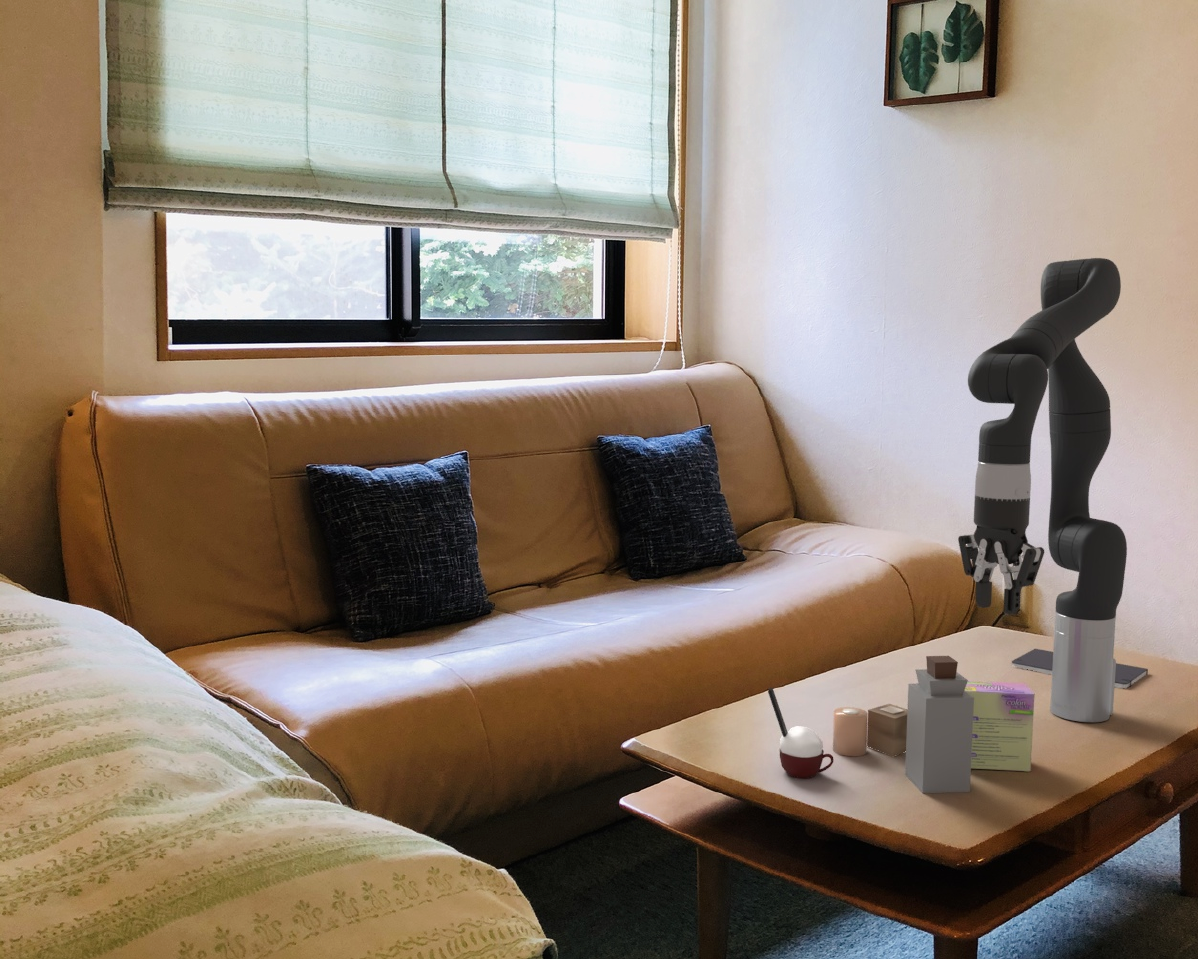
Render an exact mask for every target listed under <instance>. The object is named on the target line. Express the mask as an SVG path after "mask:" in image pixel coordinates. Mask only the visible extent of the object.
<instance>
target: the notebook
mask: <svg viewBox="0 0 1198 959" xmlns="http://www.w3.org/2000/svg"><path fill="white" fill-rule="evenodd" d="M1011 663H1012V667H1013V666H1015V667H1019V668H1018V669H1020V668H1023V669H1022V670H1025V669H1028V670H1027V671H1030V670H1033V671H1032V672H1035V671H1037V672H1036V673H1040V672H1042V673H1041V674H1045V675H1046V674H1047V675H1051V676H1052V667H1053V651H1050V650H1045V649H1039V648H1033V649H1031V650H1030V651H1028V652H1026V653H1024V654H1022V655H1021V656H1018V657H1017V658H1014V659H1013V660H1011ZM1015 667H1014V668H1015ZM1148 674H1149V669H1148V668H1144V667H1138V666H1135V665H1128V664H1122V663H1118V662H1116V670H1115V687H1114V688H1118V689H1123V688H1125V689H1128V688H1129V687H1132V685H1134V684H1135V683H1136V682H1137V681H1140V680H1141V679H1142V678H1143V677H1144V676H1146V675H1148ZM1134 682H1135V683H1134ZM1127 687H1128V688H1127Z"/></svg>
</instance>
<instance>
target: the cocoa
mask: <svg viewBox="0 0 1198 959" xmlns="http://www.w3.org/2000/svg"><path fill="white" fill-rule="evenodd" d="M767 690H768V691H767V693H768V697H769V699H770V702H771V706H772V707H773V710H774V711H773V712H774V713H775V717H776V720H777V723H778V726H779V728H780V731H781V734H782V735H781V737H780V739H779V759H780V760H779V761H780V763H781V767H782V769H783V770H784V771H785V774H787V775H789V776H791V777H793V778H797V779H809V778H812V777H814V776H816V775H817V774H821V773H823V772H825V771H826V770H828V769H830V768H831V767H832V765H833V763H834V757H833V755H832V754H831V753H824V750H823V748H824V744H823V741H822V739H821V738H820V736H819V735H818V733H817V732H816V731H815V730H814V729H811V728H809V727H807V726H800V725H799V726H798V725H797V726H796V725H795V726H793V727H791V728H790V729H789V730H788V729H787V727H786V726H787V725H786V724H785V721H784V717H783V715H782V712H781V711H782V710H781V708H780V706H779V702H778V699H777V697H776V694H775V691H774V688H773V687H771V686H770V687H769V688H768V689H767ZM825 758H829V759H830V762H829V763H827V765H825V766H824V767H822V768H821V766H822V764H823V761H824V760H823V759H825Z"/></svg>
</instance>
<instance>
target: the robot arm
mask: <svg viewBox="0 0 1198 959" xmlns="http://www.w3.org/2000/svg"><path fill="white" fill-rule="evenodd" d="M1121 282H1122V281H1121V275H1120V272H1119V268H1118V266H1117V265H1116V263H1114V261H1112V260H1110V259H1109V258H1104V257H1091V258H1079V259H1072V260H1062V261H1061V260H1060V261H1059V260H1058V261H1053V262H1050V263H1049V264H1048V263H1047V265H1046V266H1045V268H1044V269H1043V271H1042V275H1041V280H1040V304H1041V310H1040V311H1039V312H1037V313H1034V315H1032V316H1030V317H1029V318H1027V319H1026V320H1025V321H1024V322H1023V323H1022V324H1021V325H1020V326H1019V327H1018V328H1017V330H1015V332H1014V333H1013V334H1012V336H1010V337H1009V338H1008V339H1005V340H1002V341H1001V342H999V343H997V344H994V345H993V346H992V347H990V348H988V349H986V350H985V351H983V352H982V353H980V354H979V355H978V356H977V358H976V359H975V360H974V361H973V363H972V365H971V366H970V369H969V370H968V371H969V372H968V375H967V385H968V389H969V392H970V394H971V395H972V396H973V397H974V398H975V399H976V400H978V401H979V402H981V403H987V404H1007V405H1008V404H1009V405H1010V404H1011V405H1014V406H1013V409H1012V411H1011V413H1010V414H1009V415H1008V416H1007V417H1005V418H1001V419H994V420H993V419H992V420H989V421H985V422H984V423H982V425H981V426H980V429H979V436H978V454H977V455H978V457H977V458H978V459H977V460H978V461H977V468H976V474H975V481H974V483H975V484H974V502H973V503H974V506H973V510H974V511H973V524H974V525H976V527H975V530H974V533H973V534H964V535H959V536H958V539H957V540H958V546H959V551H960V557H961V561H962V565H963V572H964V575H965V576H971V577H972V579H973V580H974V581H975V596H974V597H975V598H974V599H975V602H976V605H977V608H981V609H984V608H990V607H991V606H992V605H991V604H992V594H993V593H992V590H993V582H992V581H990V580H991V579H992V576H993V574H994V570H995V568H996V567H997V566H999V571H1000V573H1001V574H1002V575H1003V579H1004V580H1003V581H1004V584H1005V588H1004V591H1003V614H1004V615H1008V616H1009V615H1014V614H1015V615H1016V614H1017V613H1018V611H1020V609H1021V600H1022V598H1021V597H1022V596H1021V595H1022V589H1023V588H1025V587H1029V586H1033V585H1034V584H1035V582H1036V578H1037V576H1038V572H1039V570H1040V567H1041V564H1042V561H1043V559H1044V555H1045V549H1044V548H1043V547H1042V546H1038V547H1036V546H1033V545H1032V544H1030V543H1029V540H1028V537H1027V533H1026V532H1027V531H1026V530H1027V529H1028V526H1029V525H1030V511H1031V510H1030V508H1031V506H1030V505H1031V489H1032V488H1031V487H1032V474H1031V449H1032V435H1033V431H1034V426H1035V423H1036V419H1037V416H1038V412H1039V411H1040V407H1041V404H1042V402H1043V399H1044V396H1045V393H1046V391H1047V388H1048V421H1049V422H1048V424H1049V439H1050V474H1051V475H1050V477H1051V478H1050V481H1051V484H1050V489H1051V490H1050V502H1049V504H1050V506H1049V514H1048V515H1049V517H1048V518H1049V519H1048V535H1047V537H1048V538H1047V540H1048V542H1047V544H1048V549H1049V550H1048V551H1049V554H1050V557H1051V559H1052V560H1053V562H1054V564H1056V565H1057V566H1059V567H1060V568H1063V569H1065V570H1069V571H1073V572H1076V573H1078V576H1077V581H1076V587H1075V588H1074V589H1073V590H1069V591H1068V590H1067V591H1064V592H1061V593H1059V594H1058V595H1057V596H1056V600H1055V612H1054V630H1053V649H1052V650H1053V651H1052V652H1053V667H1052V675H1051V687H1050V689H1051V691H1050V707H1049V708H1050V709H1049V711H1050V712H1051V714H1053V715H1055V716H1057V717H1059V718H1062V719H1065V720H1069V721H1074V722H1075V721H1076V722H1080V723H1081V722H1083V723H1101V722H1105V721H1108V720H1109V719H1110V716H1111V715H1113V713H1114V702H1115V701H1114V700H1115V699H1114V698H1115V688H1116V687H1115V670H1116V663H1117V660H1116V659H1115V658H1114V654H1115V653H1114V652H1115V639H1116V638H1115V637H1116V636H1115V633H1116V617H1117V608H1118V606H1119V604H1120V601H1121V599H1122V597H1123V596H1122V595H1123V590H1124V581H1125V573H1126V572H1125V571H1126V567H1127V566H1126V564H1127V555H1128V547H1127V539H1126V535H1125V532H1124V531H1123V529H1122V528H1121V527H1120V526H1119V525H1118V524H1117V523H1114V522H1111V521H1108V520H1103V519H1099V518H1098V519H1097V518H1093V517H1090V516H1091V515H1090V506H1089V505H1090V504H1089V502H1090V501H1089V499H1090V498H1089V496H1090V486H1091V483H1092V479H1093V477H1094V474H1095V473H1096V470H1097V469H1098V467H1099V465H1100V463H1101V461H1102V460H1103V458H1104V456H1105V454H1106V452H1107V450H1108V447H1109V445H1110V442H1111V436H1112V425H1111V424H1112V423H1111V422H1112V421H1111V418H1112V417H1111V416H1112V415H1111V399H1110V396H1109V393H1108V392H1107V390H1106V387H1105V385H1104V384H1103V383H1102V381H1101V379H1100V378H1099V377H1098V375H1097V374H1096V373H1095V372H1094V370H1093V369H1092V367H1091V366H1090V364H1088V362H1087V361H1086V360H1085V358H1084V356H1083V355H1082V353H1081V351H1080V349H1079V347H1078V344H1077V342H1076V339H1077V337H1079V336H1080V335H1081V334H1083V333H1084V332H1086V331H1087V330H1088V329H1089V328H1091V327H1092V326H1094V325H1095V324H1097V323H1098V322H1099V321H1101V320H1102V319H1103V318H1105V317H1107V315H1109V314H1110V313H1111V312H1112V311H1113V310H1114V309H1115V308H1116V306H1117V304H1118V302H1119V299H1120V295H1121V290H1122V289H1121V287H1122V286H1121V285H1122V283H1121ZM1010 565H1012V566H1010Z"/></svg>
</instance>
